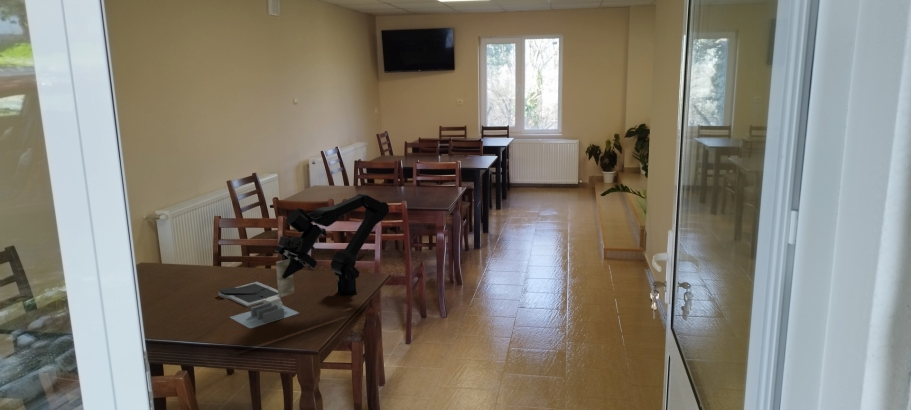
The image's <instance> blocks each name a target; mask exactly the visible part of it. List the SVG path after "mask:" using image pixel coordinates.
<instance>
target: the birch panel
mask: <svg viewBox="0 0 911 410" xmlns="http://www.w3.org/2000/svg"><path fill="white" fill-rule="evenodd" d="M289 264H290V259H286V260H283V259H281V260H278V261H276V262H275V268H276V281H277V282H276V283H277V284H276V285H277V290H278V296H280V298H283V297H286V296H289V295H292V294H295V284H294V273H293V274H292V275H290V276H289V277H287V278H285V279H284V278H282V276H283V274H284V272H285V271H286V269H287V267H288V265H289Z"/></svg>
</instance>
